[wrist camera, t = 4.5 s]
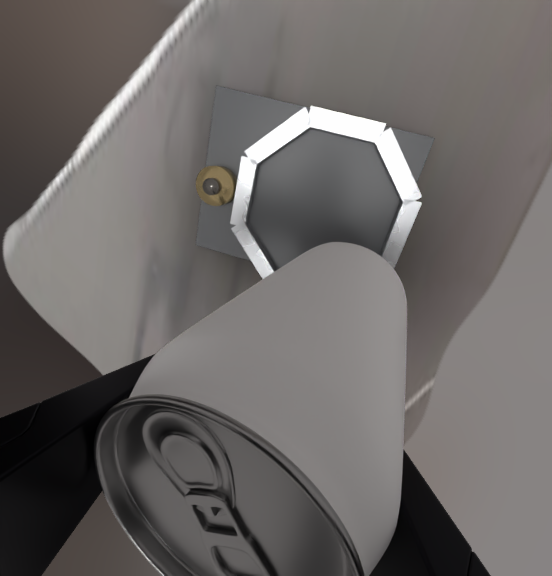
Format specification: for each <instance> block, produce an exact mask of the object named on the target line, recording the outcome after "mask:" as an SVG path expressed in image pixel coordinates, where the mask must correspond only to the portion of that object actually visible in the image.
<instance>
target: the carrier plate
mask: <svg viewBox="0 0 552 576" xmlns="http://www.w3.org/2000/svg"><path fill="white" fill-rule="evenodd" d="M303 108H304V106H300V105H295V104H291V103H287V102H283V101H279V100H275V99H270V98H266V97H262V96H258V95H254V94H250V93H245V92H241V91H237V90H233V89H229V88H225V87H220V86H216V91H215V98H214V106H213V114H212V121H211V129H210V137H209V145H208V152H207V160H206V167H207V166H223V167H226V168H228V169H230V170H231V171H232V172H233V173H234V175H235V176H236V178H237V180H238V174H239V169H240V163H241V157H242V156H244V157H248V156H247V155H246V153H245V150H247V149H248V148H249V147H251V146H252V145H254V144H255V143H256V142H258V141H259V140H260V139H262V138H263V137H265V136H266V135H267V134H269V133H270V132H271V131H273V130H274V129H275V128H277V127H278V126H280V125H281V124H282V123H284V122H285V121H286V120H288V119H289V118H291V117H292V116H293V115H295V114H296V113H297V112H299V111H300V110H302V109H303ZM305 108H306V110H307V112H308V113H309V112H310V108H308V107H305ZM389 128H391V127H387V126H385V128H384V131H386V130H387V129H389ZM391 129H392V131H393V134H394V136H395V138H396V140H397V142H398V145H399V147H400V149H401V151H402V153H403V156H404V158H405V160H406V162H407V164H408V167H409V169H410V171H411V173H412V176H413V178H414V180H415V182H416V184H417V181H418V179H419V176H420V174H421V171H422V169H423V166H424V164H425V161H426V159H427V156H428V154H429V151H430V149H431V146H432V144H433V141H434V139H435V138H433V137H429V136H424V135H420V134H416V133H412V132H408V131H404V130H399V129H395V128H391ZM384 131H383V132H384ZM233 203H234V199H233V200H232V201H231V202H229V203H227V204H224V205H220V206H211V205H209V204H207V203H205V202H204V201H203V200H202V199H201V207H200V214H199V222H198V230H197V237H196V245H197V246H201V247H204V248H208V249H211V250H215V251H218V252H222V253H225V254H229V255H232V256H235V257H239V258H242V259H246V260H249V261H251V260H250V258H249V256H248V255H247V253H246V252H245V250H244V248H243V247H242V245H241V244H240V242H239V241H238V239H237V237H236V236H235V234H234V233H233V231H232V229H231V228H233V227H234V226H236V225H233V224H230V221H231V215H232V209H233ZM399 204H400V199H399V197H398V195H397V193H396V190H395V188H394V186H393V184H392V182H391V180H390V178H389V176H388V173H387V171H386V169H385V167H384V165H383V163H382V161H381V159H380V157H379V154H378V152H377V150H376V148H375V146H374V144H372V143H368V142H364V141H360V140H356V139H352V138H348V137H344V136H340V135H336V134H331V133H327V132H323V131H319V130H315V129H310V130H308V131H307V132H305V133H304V134H303V135H301V136H300V137H298V138H297V139H295V140H294V141H292V142H291V143H290V144H288V145H287V146H285V147H284V148H282V149H281V150H280V151H278V152H277V153H275V154H274V155H272V156H271V157H269V158H268V159H267V160H265V161H264V162H262V163H261V164H260V165H259V170H258V175H257V180H256V185H255V190H254V195H253V201H252V206H251V211H250V216H249V221H248V223H249V224H250V226H251V228H252V229H253V231H254V233H255V234H256V236H257V237H258V239H259V241H260V242H261V244H262V246H263V247H264V249H265V251H266V252H267V254H268V256H269V257H270V259H271V260H272V262H273V264H274V265H275V267H276V268H277V269H279V268H281V267H282V266H284V265H286V264H287V263H289V262H290V261H292V260H293V259H295V258H297V257H298V256H300V255H301V254H303V253H305V252H306V251H308V250H310V249H312V248H314V247H316V246H319V245H322V244H325V243H330V242H345V243H352V244H356V245H360V246H363V247H365V248H368V249H370V250H372V251H373V252H375V253H377V254H378V255H380V252H381V250H382V247H383V245H384V242H385V239H386V237H387V234H388V232H389V229H390V227H391V224H392V222H393V219H394V216H395V214H396V211H397V209H398V206H399Z"/></svg>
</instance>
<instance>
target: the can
mask: <svg viewBox="0 0 552 576" xmlns="http://www.w3.org/2000/svg"><path fill="white" fill-rule="evenodd" d="M406 348H407V300H406V294H405V290H404V287H403V284H402V282H401V280H400V278H399V276H398V274H397V273H396V271H395V270H394V269H393V268H392V266H391V265H390V264H389V263H388V262H387V261H386V260H385V259H383V258H382V257H381V256H380V255H378V254H377V253H375V252H373V251H372V250H370V249H368V248H365V247H363V246H360V245H356V244H352V243H345V242H330V243H325V244H322V245H319V246H316V247H314V248H312V249H310V250H308V251H306V252H305V253H303V254H301V255H300V256H298V257H297V258H295V259H293V260H292V261H290V262H289V263H287V264H286V265H284V266H282V267H281V268H279V269H278V270H276V271H275V272H273V273H272V274H270V275H269V276H267V277H266V278H264V279H262V280H261V281H259V282H258V283H256V284H255V285H253V286H252V287H250V288H249V289H247V290H246V291H244V292H243V293H241V294H240V295H238V296H237V297H235V298H234V299H232V300H230V301H229V302H227V303H226V304H224V305H223V306H221V307H220V308H218V309H217V310H215V311H214V312H212V313H211V314H209V315H208V316H206V317H205V318H203V319H202V320H200V321H199V322H197V323H196V324H194V325H193V326H191V327H190V328H188V329H187V330H186V331H184V332H183V333H181V334H180V335H179V336H177V337H176V338H174V339H173V340H172V341H170V342H169V343H168V344H166V345H165V346H164V347H163V348H162V349H161V350H159V351H158V352H157V353H156V354H155V355H154V356H153V357H152V359H151V360H150V361H149V363H148V364H147V366H146V367H145V369H144V370H143V372H142V374H141V375H140V377H139V379H138V381H137V383H136V385H135V387H134V389H133V391H132V393H131V395H130V397H129V398H128V399H125V400H123V401H121V402H119V403H117V404H116V405H114V406H113V407H112V408H111V409H110V410H108V411H107V413H106V414H105V415H104V416H103V418H102V419H101V421H100V423H99V425H98V427H97V430H96V433H95V438H94V461H95V467H96V472H97V476H98V479H99V482H100V485H101V488H102V491H103V493H104V496H105V498H106V500H107V502H108V504H109V506H110V508H111V510H112V512H113V514H114V515H115V517H116V519H117V521H118V522H119V524H120V525H121V527H122V529H123V530H124V531H125V533H126V534H127V536H128V537H129V539H130V540H131V541H132V543H133V544H134V545H135V547H136V548H137V549H138V550H139V552H140V553H141V554H142V555H143V556H144V558H145V559H146V560H147V561H148V562H149V563H150V564H151V565H152V567H153V568H154V569H155V570H156V571H157V572H158V573H159V574H160V575H161V576H369V575H370V574H371V572H372V571H373V569H374V568H375V566H376V565H377V563H378V562H379V560H380V559H381V557H382V556H383V554H384V552H385V551H386V549H387V547H388V546H389V543H390V541H391V539H392V537H393V535H394V532H395V529H396V525H397V520H398V514H399V508H400V501H401V487H402V470H403V445H404V416H405V385H406Z"/></svg>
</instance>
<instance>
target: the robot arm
mask: <svg viewBox="0 0 552 576" xmlns="http://www.w3.org/2000/svg"><path fill="white" fill-rule="evenodd" d="M154 355H155V354H154ZM154 355H152V356H149V357H147V358H144V359H142V360H140V361H137V362H135V363H132V364H130V365H128V366H125V367H123V368H120V369H118V370H116V371H113V372H111V373H108V374H106V375H103V376H101V377H99V378H96V379H94V380H91V381H89V382H87V383H84V384H82V385H79V386H77V387H75V388H72V389H70V390H67V391H65V392H62V393H60V394H58V395H55V396H53V397H51V398H48V399H46V400H43V401H42V402H41V403H36V404H33V405H31V406H29V407H26V408H24V409H21V410H19V411H16V412H14V413H11V414H9V415H6V416H4V417H1V418H0V576H42V574H43V573H44V571H45V570H46V568H47V567H48V566H49V564H50V563H51V562H52V560H53V559H54V557H55V556H56V554H57V553H58V552H59V550H60V549H61V548H62V546H63V545H64V543H65V542H66V541H67V539H68V538H69V536H70V535H71V533H72V532H73V531H74V529H75V528H76V526H77V525H78V524H79V522H80V521H81V520H82V518H83V517H84V515H85V514H86V513H87V511H88V510H89V508H90V507H91V506H92V504H93V503H94V501H95V500H96V499H97V497H98V496H99V494H100V493H101V492H102V488H101V485H100V482H99V479H98V476H97V472H96V467H95V461H94V438H95V433H96V430H97V427H98V425H99V423H100V421H101V419H102V418H103V416H104V415H105V414H106V413H107V411H108V410H110V409H111V408H112V407H113V406H114V405H116V404H117V403H119V402H121V401H123V400H125V399H128V398H129V397H130V395H131V393H132V391H133V389H134V387H135V385H136V383H137V381H138V379H139V377H140V375H141V374H142V372H143V370H144V369H145V367H146V366H147V364H148V363H149V361H150V360H151V359H152V357H153V356H154ZM369 576H491V575H490V574H489V573H488V571H487V570H486V568H485V567H484V565H483V564H482V562H481V561H480V559H479V558H478V557H477V555H476V554H475V553H474V552H472V549H471V547H470V545H469V544H468V542H467V541H466V539H465V538H464V536H463V535H462V533H461V532H460V531H459V529H458V528H457V526H456V525H455V523H454V522H453V521H452V519H451V517H450V516H449V515H448V513H447V512H446V510H445V509H444V507H443V506H442V504H441V503H440V501H439V500H438V499H437V497H436V496H435V494H434V493H433V491H432V490H431V488H430V487H429V485H428V484H427V483H426V481H425V480H424V478H423V477H422V475H421V474H420V472H419V471H418V469H417V468H416V467H415V465H414V464H413V462H412V461H411V459H410V458H409V456H408V455H407V453H406V452H405V451H404V449H403V470H402V487H401V501H400V508H399V514H398V520H397V525H396V529H395V532H394V535H393V537H392V539H391V541H390V543H389V546H388V547H387V549H386V551H385V552H384V554H383V556H382V557H381V559H380V560H379V562H378V563H377V565H376V566H375V568H374V569H373V571H372V572H371V574H370V575H369Z"/></svg>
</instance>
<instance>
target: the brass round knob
mask: <svg viewBox="0 0 552 576" xmlns="http://www.w3.org/2000/svg"><path fill="white" fill-rule="evenodd" d="M236 186H237V178H236V176H235V175H234V173H233V172H232V171H231V170H230V169H228V168H226V167H223V166H207V167H205V168H204V169H202V170H201V171H200V173H199V174H198V176H197V179H196V189H197V192H198V195H199V196H200V198H201V199H202V200H203V201H204V202H205V203H207V204H209V205H211V206H220V205H224V204H227V203H229V202H231V201H232V200H233V199H234V198H235V192H236Z"/></svg>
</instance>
